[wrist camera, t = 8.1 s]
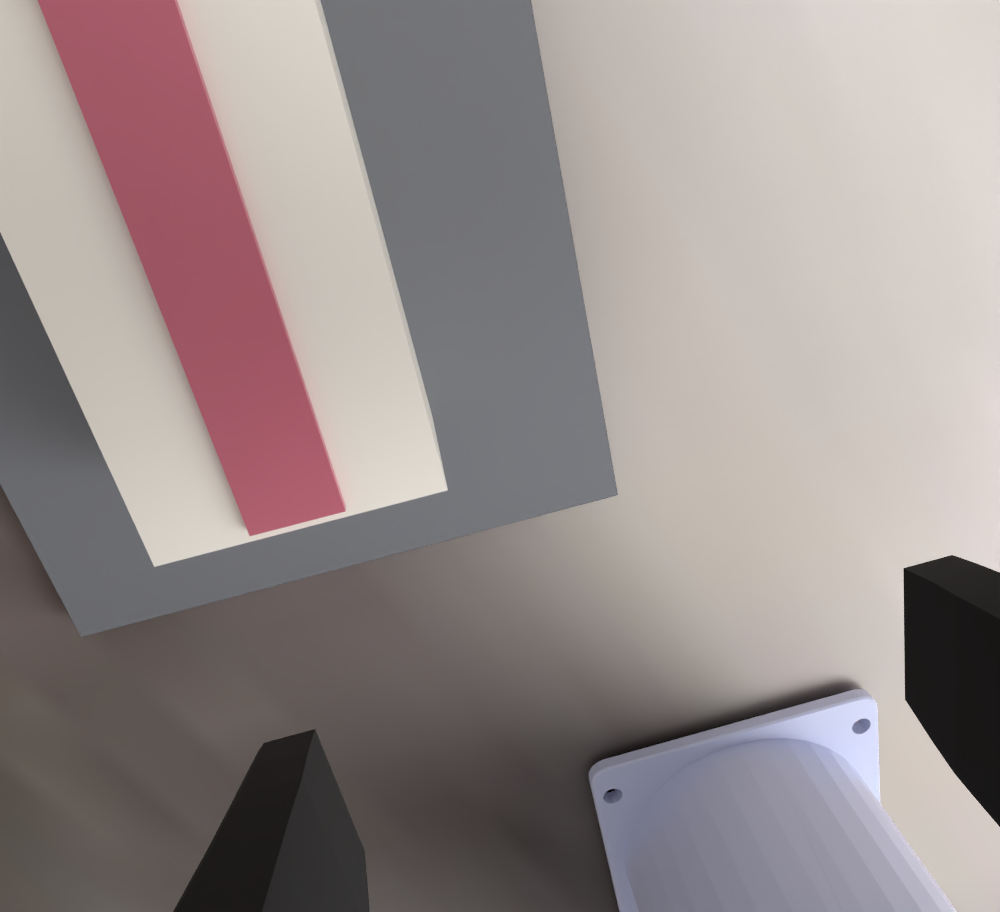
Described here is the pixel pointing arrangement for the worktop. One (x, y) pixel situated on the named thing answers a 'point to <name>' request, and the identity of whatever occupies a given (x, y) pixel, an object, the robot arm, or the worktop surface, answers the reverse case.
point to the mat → (429, 313)
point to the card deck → (210, 264)
